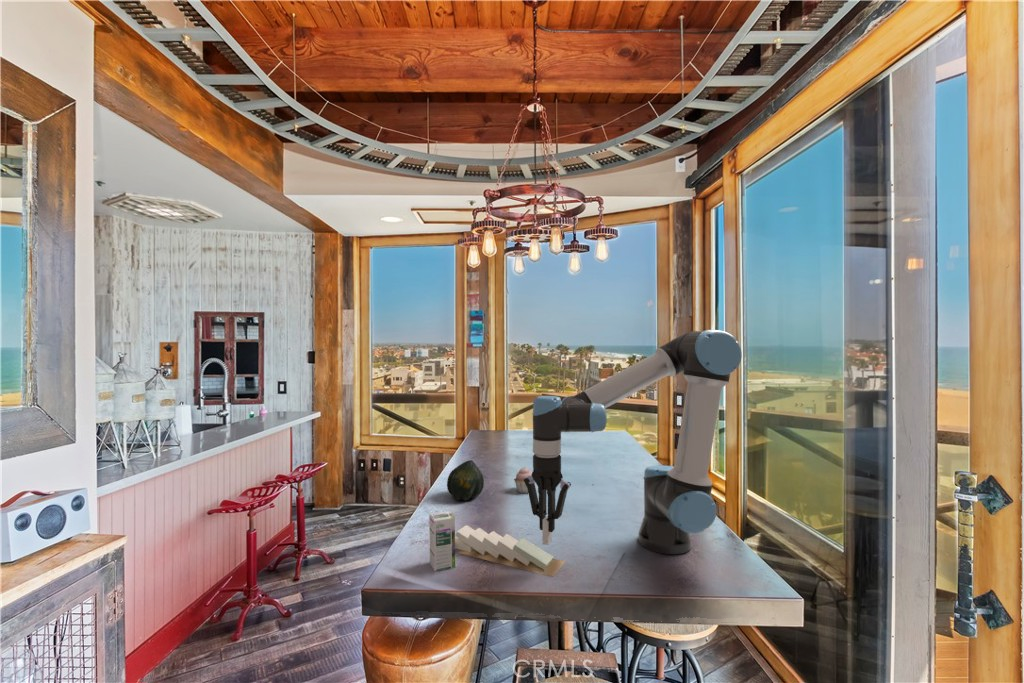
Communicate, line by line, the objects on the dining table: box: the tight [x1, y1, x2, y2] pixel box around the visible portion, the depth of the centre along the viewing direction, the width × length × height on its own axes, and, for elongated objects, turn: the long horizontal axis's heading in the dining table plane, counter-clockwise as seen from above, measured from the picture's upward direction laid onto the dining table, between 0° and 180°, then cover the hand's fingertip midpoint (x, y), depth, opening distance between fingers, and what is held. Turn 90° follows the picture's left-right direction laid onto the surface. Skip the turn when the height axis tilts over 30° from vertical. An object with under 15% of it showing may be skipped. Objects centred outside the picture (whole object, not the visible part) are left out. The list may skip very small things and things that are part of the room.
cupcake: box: [513, 466, 536, 494], centre depth 184 cm, size 9×9×10 cm
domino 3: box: [468, 527, 501, 558], centre depth 128 cm, size 2×5×10 cm
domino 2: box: [455, 524, 487, 555], centre depth 130 cm, size 2×5×10 cm
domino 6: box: [513, 537, 555, 570], centre depth 122 cm, size 2×5×10 cm
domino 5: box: [497, 533, 531, 566], centre depth 124 cm, size 2×5×10 cm
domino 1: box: [455, 533, 474, 552], centre depth 132 cm, size 2×5×10 cm
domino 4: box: [483, 530, 516, 562], centre depth 126 cm, size 2×5×10 cm
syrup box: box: [428, 510, 456, 572], centre depth 121 cm, size 6×6×14 cm
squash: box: [446, 459, 485, 502], centre depth 177 cm, size 14×15×15 cm
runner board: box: [455, 549, 566, 578], centre depth 125 cm, size 30×9×1 cm, turn 63°
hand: (547, 542), depth 120 cm, fingers closed
